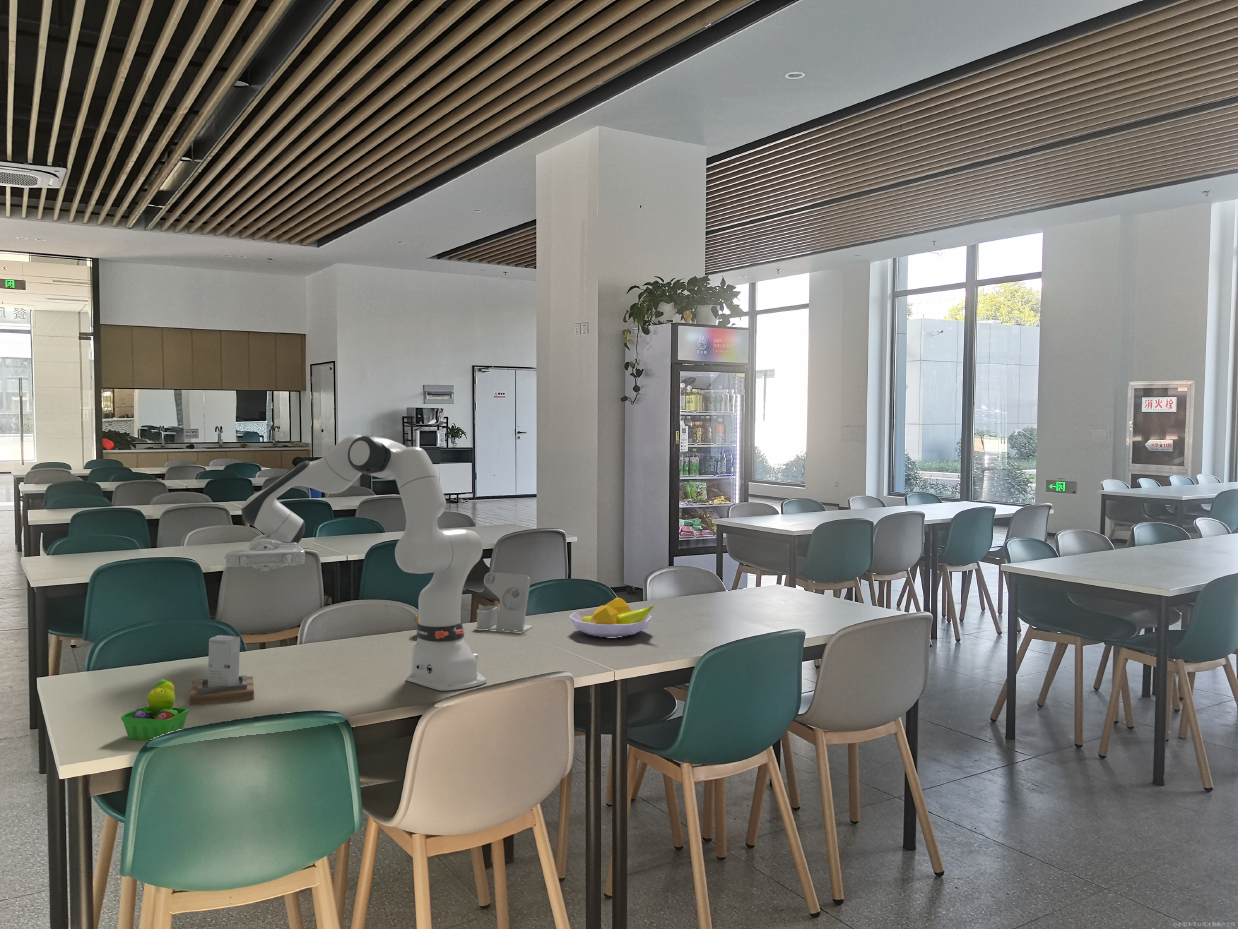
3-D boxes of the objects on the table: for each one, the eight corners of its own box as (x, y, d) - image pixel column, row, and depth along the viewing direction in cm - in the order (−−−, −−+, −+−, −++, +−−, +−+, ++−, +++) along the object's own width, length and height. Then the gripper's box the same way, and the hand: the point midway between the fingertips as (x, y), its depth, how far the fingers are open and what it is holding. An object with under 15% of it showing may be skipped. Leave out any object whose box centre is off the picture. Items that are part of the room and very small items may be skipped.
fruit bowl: (553, 632, 293) (553, 598, 293) (615, 622, 311) (615, 589, 311) (609, 649, 272) (609, 612, 272) (672, 636, 290) (673, 601, 290)
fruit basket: (118, 740, 187) (117, 687, 187) (146, 727, 196) (146, 676, 196) (167, 744, 185) (167, 690, 185) (194, 730, 194) (194, 678, 194)
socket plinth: (253, 699, 217) (253, 687, 217) (189, 705, 211) (189, 692, 211) (252, 684, 230) (252, 672, 230) (192, 689, 224) (192, 677, 224)
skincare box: (206, 688, 219) (206, 638, 218) (217, 683, 223) (217, 634, 223) (230, 689, 218) (230, 640, 217) (240, 684, 222) (240, 635, 222)
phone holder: (473, 629, 296) (473, 575, 295) (486, 623, 306) (486, 571, 305) (522, 633, 291) (522, 578, 290) (533, 627, 301) (534, 574, 300)
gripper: (224, 544, 248) (224, 551, 235) (302, 542, 256) (306, 548, 243) (224, 567, 248) (224, 575, 236) (302, 564, 256) (306, 571, 244)
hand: (266, 561), depth 240 cm, fingers open, 8 cm apart
